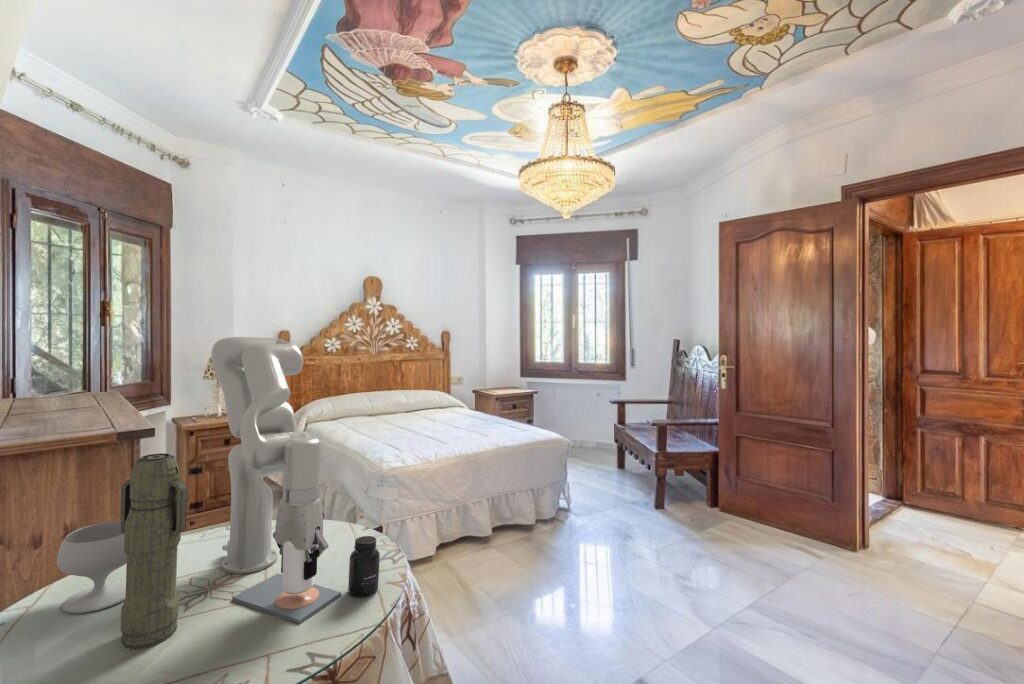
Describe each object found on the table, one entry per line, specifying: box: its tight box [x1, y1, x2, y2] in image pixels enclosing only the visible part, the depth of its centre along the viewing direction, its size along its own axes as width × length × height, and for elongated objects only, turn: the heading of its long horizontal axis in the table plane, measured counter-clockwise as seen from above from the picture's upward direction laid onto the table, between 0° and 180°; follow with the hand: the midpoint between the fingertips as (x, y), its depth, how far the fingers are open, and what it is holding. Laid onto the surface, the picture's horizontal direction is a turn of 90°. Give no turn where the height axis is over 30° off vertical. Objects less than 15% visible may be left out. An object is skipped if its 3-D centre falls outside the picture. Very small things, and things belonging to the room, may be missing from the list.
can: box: [282, 538, 315, 594], centre depth 105 cm, size 6×6×12 cm
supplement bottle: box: [347, 535, 381, 598], centre depth 111 cm, size 7×7×12 cm
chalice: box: [56, 520, 127, 614], centre depth 103 cm, size 14×14×15 cm
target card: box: [231, 572, 342, 625], centre depth 106 cm, size 20×12×1 cm, turn 68°
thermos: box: [120, 453, 189, 650], centre depth 92 cm, size 9×12×35 cm
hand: (298, 573), depth 105 cm, fingers closed on can, 5 cm apart
